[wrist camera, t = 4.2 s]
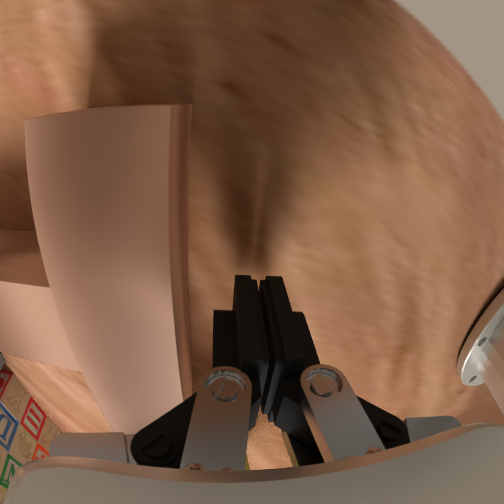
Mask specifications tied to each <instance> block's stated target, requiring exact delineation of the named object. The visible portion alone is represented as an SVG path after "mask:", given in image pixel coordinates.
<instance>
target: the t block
mask: <svg viewBox="0 0 504 504" xmlns="http://www.w3.org/2000/svg"><path fill="white" fill-rule="evenodd" d="M192 106H193V104H147V105H126V106H111V107H100V108H90V109H82V110H75V111H69V112H62V113H57V114H51V115H46V116H41V117H36V118H31V119H27V120H24V133H25V153H26V165H27V176H28V184H29V192H30V199H31V206H32V212H33V218H34V223H35V228H36V230H4V229H0V352H3V353H7V354H10V355H13V356H17V357H20V358H24V359H28V360H31V361H35V362H39V363H43V364H47V365H52V366H56V367H60V368H65V369H70V370H75V371H80V372H82V374H83V376H84V378H85V380H86V382H87V384H88V386H89V389H90V391H91V393H92V395H93V397H94V399H95V400H96V402H97V404H98V406H99V408H100V410H101V412H102V414H103V415H104V417H105V419H106V421H107V423H108V424H109V426H110V428H111V430H112V431H115V432H124V433H126V434H136V433H137V432H138V431H140V430H141V429H142V428H144V427H146V426H147V425H149V424H150V423H152V422H153V421H155V420H156V419H158V418H159V417H161V416H162V415H164V414H165V413H167V412H168V411H170V410H171V409H173V408H174V407H176V406H177V405H179V404H180V403H182V402H183V401H184V400H186V399H187V398H189V397H190V396H192V390H193V371H192V356H191V339H190V318H189V289H188V187H189V158H190V138H191V121H192Z"/></svg>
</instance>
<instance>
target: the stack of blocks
mask: <svg viewBox="0 0 504 504" xmlns="http://www.w3.org/2000/svg"><path fill="white" fill-rule="evenodd" d="M59 434H61V432H60V431H59V430H58V428H57V427H56V426H55V425H54V424H53V423H52V422H51V421H50V420H49V418H48V417H47V416H46V414H45V413H44V412H43V411H42V410H41V408H40V407H39V406H38V405H37V404H36V402H35V401H34V400H33V399H32V397H31V396H30V395H29V393H28V392H27V391H26V389H25V388H24V387H23V385H22V384H21V382H20V381H19V380H18V378H17V377H16V376H15V374H14V373H12V372H8V371H4V370H0V504H3V502H4V499H5V495H6V492H7V489H8V486H9V484H10V482H11V479H12V477H13V476H14V474H15V472H16V471H17V470H18V469H19V468H20V467H21V466H22V465H23V464H25V463H27V462H29V461H32V460H36V459H40V458H46V457H49V448H50V443H51V441H52V440H53V439H54V437H56V436H57V435H59Z"/></svg>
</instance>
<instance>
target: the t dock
mask: <svg viewBox="0 0 504 504" xmlns="http://www.w3.org/2000/svg"><path fill="white" fill-rule="evenodd" d="M4 363H5V360H4V358H3V356H2V354H1V353H0V370H1V369H2V367H3V365H4Z"/></svg>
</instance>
